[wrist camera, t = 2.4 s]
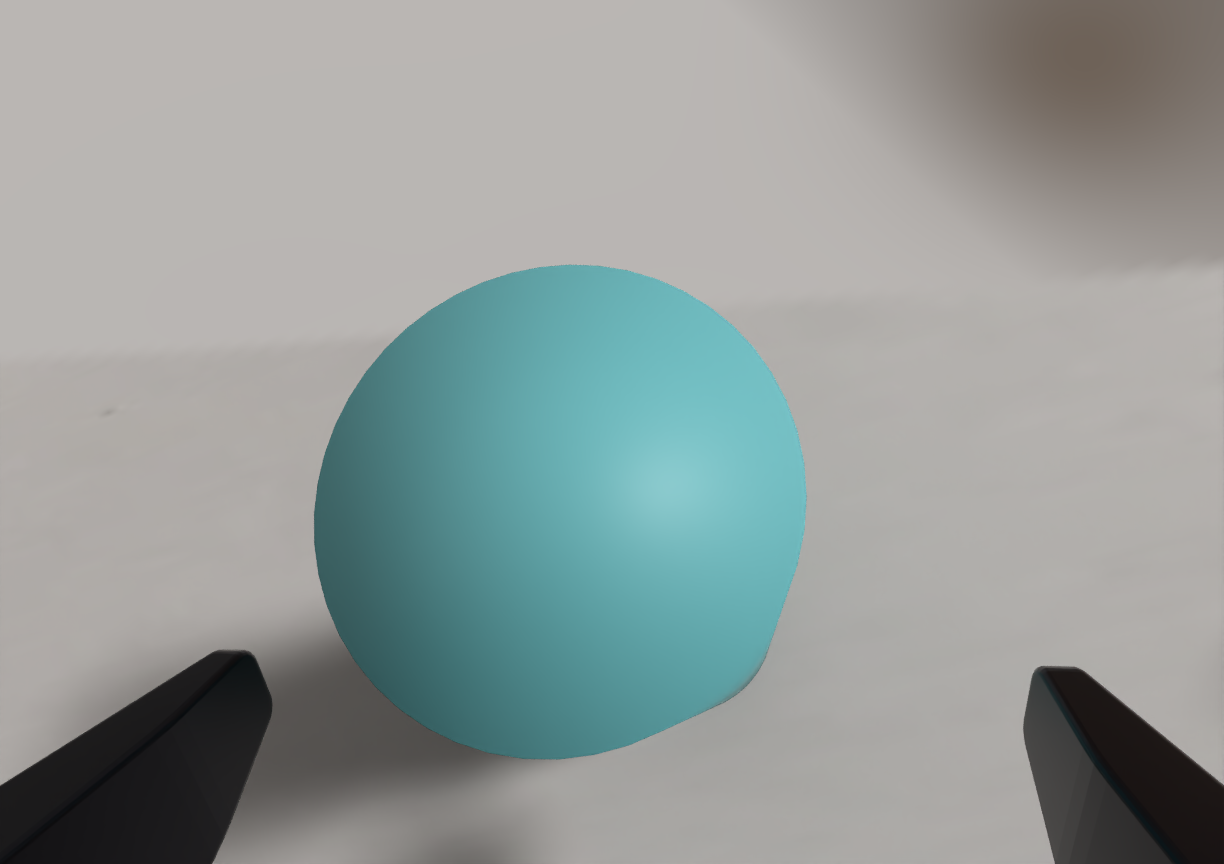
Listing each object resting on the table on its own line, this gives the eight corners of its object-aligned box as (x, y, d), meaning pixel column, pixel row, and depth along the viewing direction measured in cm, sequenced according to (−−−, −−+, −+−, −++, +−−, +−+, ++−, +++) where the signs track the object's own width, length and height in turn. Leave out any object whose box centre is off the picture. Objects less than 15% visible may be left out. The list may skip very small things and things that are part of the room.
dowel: (727, 745, 17) (668, 869, 5) (565, 660, 18) (225, 609, 7) (800, 575, 18) (887, 362, 6) (641, 503, 19) (460, 208, 7)
